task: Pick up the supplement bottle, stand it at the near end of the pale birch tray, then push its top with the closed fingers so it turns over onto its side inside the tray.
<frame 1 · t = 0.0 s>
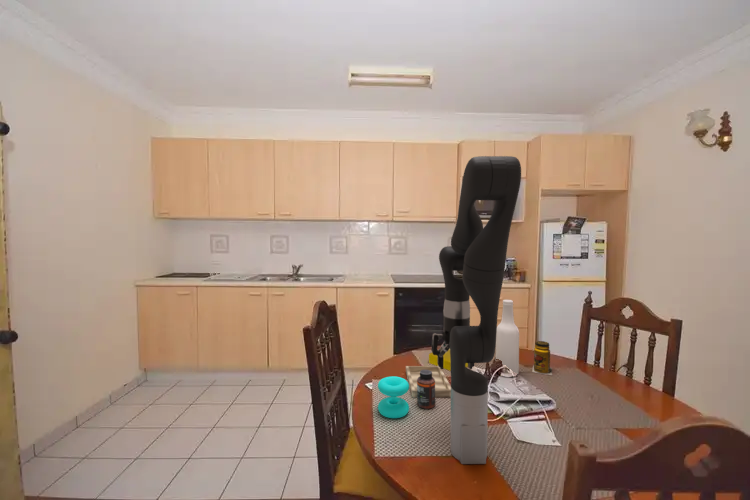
hand: (455, 367, 102), 17 cm above the table, tool pointing down, fingers open, 8 cm apart
element tile: (450, 364, 151), on the table
alcohol: (506, 374, 140), on the table
supplement bottle: (426, 405, 114), on the table
condiment: (542, 370, 143), on the table
tray: (427, 383, 130), on the table
donuts: (393, 412, 110), on the table
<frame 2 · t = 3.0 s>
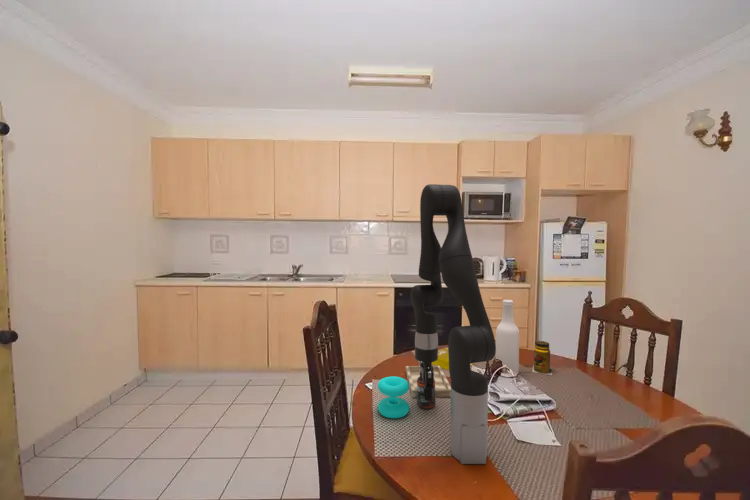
hand: (426, 394, 114), 4 cm above the table, tool pointing down, fingers closed on supplement bottle, 6 cm apart
supplement bottle: (426, 405, 114), on the table, touching gripper
everything else where it was.
when the fingers open (5 cm above the table, at t = 8.3 s): supplement bottle stays where it is, resting on tray.
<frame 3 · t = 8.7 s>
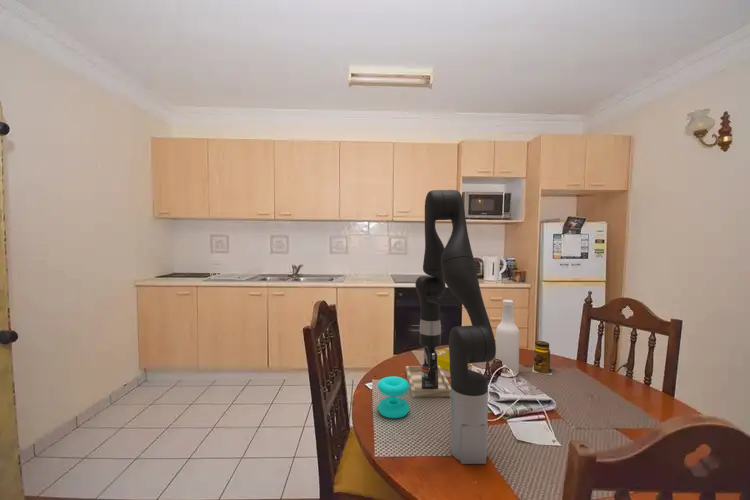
hand: (430, 375, 124), 6 cm above the table, tool pointing down, fingers open, 8 cm apart
supplement bottle: (429, 390, 124), resting on tray
everything else where it was.
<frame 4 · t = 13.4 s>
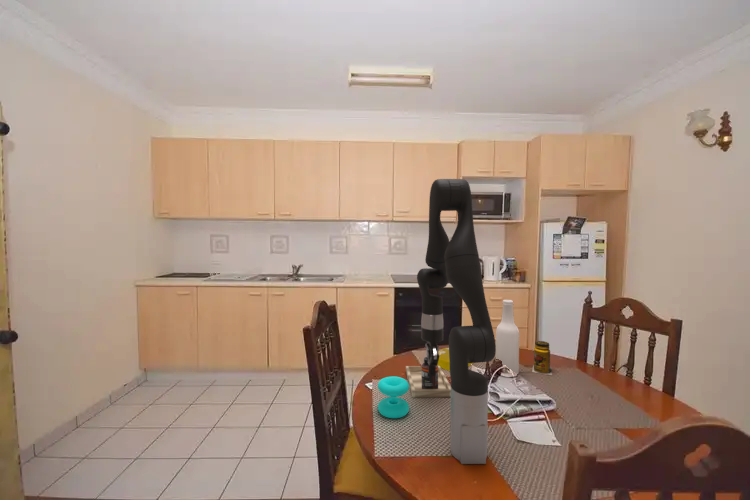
hand: (432, 375, 119), 8 cm above the table, tool pointing down, fingers closed
supplement bottle: (429, 390, 124), resting on tray, touching gripper
everything else where it was.
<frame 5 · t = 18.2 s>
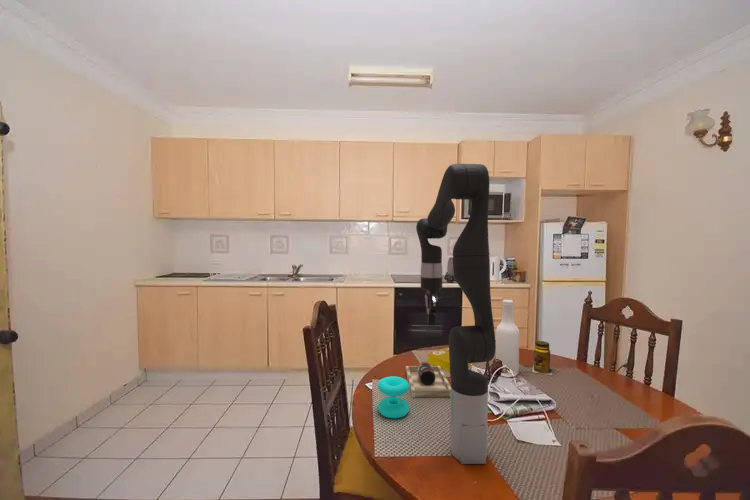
hand: (431, 324, 121), 25 cm above the table, tool pointing down, fingers closed
supplement bottle: (427, 378, 127), point 4 cm above the table, touching tray
everything else where it was.
at the end: supplement bottle tilted 90°; supplement bottle inside the target area (3.4 cm from its centre), point 3.5 cm above the table; the gripper is holding nothing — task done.
